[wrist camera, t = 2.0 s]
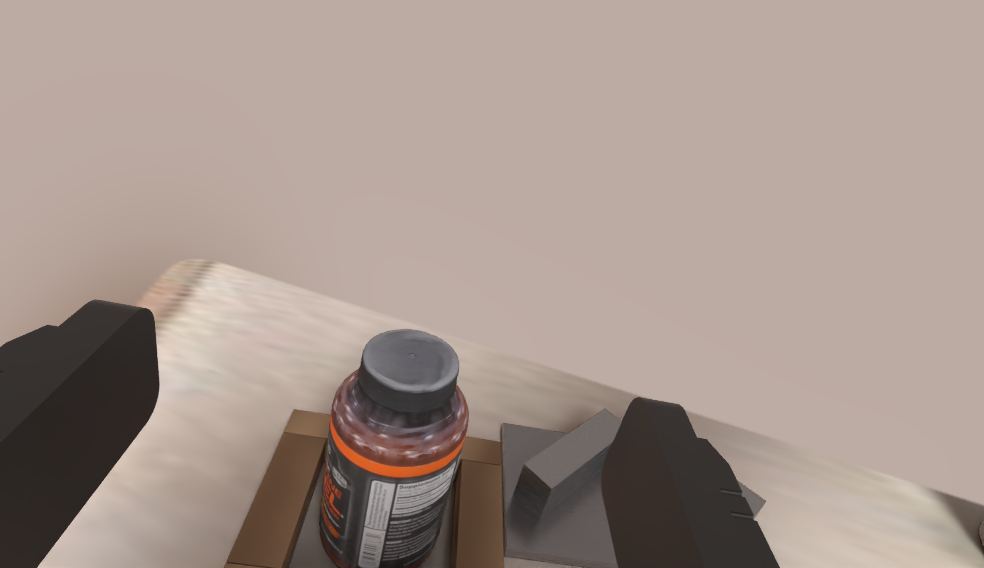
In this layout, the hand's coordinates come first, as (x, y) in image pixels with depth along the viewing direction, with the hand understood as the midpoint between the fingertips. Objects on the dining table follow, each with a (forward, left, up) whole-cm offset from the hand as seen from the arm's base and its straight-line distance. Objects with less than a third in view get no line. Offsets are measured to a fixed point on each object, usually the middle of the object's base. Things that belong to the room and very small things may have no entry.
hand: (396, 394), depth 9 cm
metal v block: (-14, -15, -19) cm, 28 cm away
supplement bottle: (0, -11, -19) cm, 22 cm away
